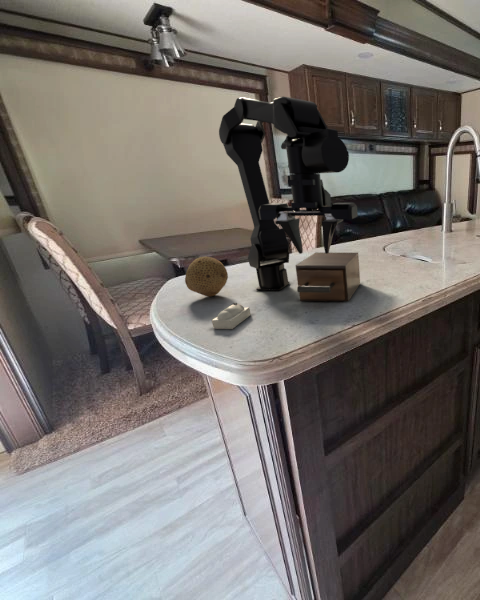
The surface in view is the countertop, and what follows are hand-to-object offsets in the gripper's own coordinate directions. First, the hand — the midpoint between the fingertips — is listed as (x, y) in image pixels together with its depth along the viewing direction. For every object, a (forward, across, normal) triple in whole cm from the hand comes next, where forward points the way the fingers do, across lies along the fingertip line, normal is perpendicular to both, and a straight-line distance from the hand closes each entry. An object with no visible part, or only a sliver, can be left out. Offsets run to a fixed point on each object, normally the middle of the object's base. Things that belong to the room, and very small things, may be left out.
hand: (314, 253), depth 67 cm
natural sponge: (+12, +29, -5) cm, 32 cm away
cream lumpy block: (+12, +15, +9) cm, 21 cm away
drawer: (+11, 0, -6) cm, 12 cm away
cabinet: (+12, 0, -10) cm, 15 cm away
